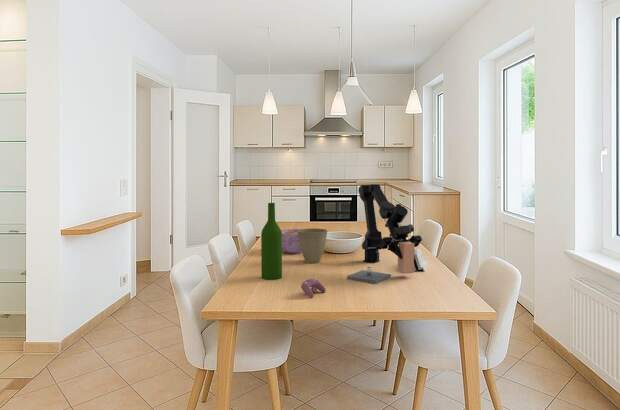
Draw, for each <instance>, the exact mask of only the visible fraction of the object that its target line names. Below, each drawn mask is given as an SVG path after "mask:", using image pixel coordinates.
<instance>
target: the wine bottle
mask: <svg viewBox="0 0 620 410" xmlns="http://www.w3.org/2000/svg"><path fill="white" fill-rule="evenodd" d="M281 230H282V229H281V228H280V226H279V225H278V223H277V222H276V203H275V202H268V203H267V222H266V223H265V225H264V226H263V228H262V229H261V233H260V236H261V237H260V238H261V239H260V241H261V242H260V243H261V245H260V246H261V250H260V251H261V254H260V255H261V256H260V257H261V261H260V262H261V264H260V265H261V278H262V280H266V281H267V280H268V281H274V280H275V281H276V280H281V279H282V277H283V250H282V232H281Z"/></svg>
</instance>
